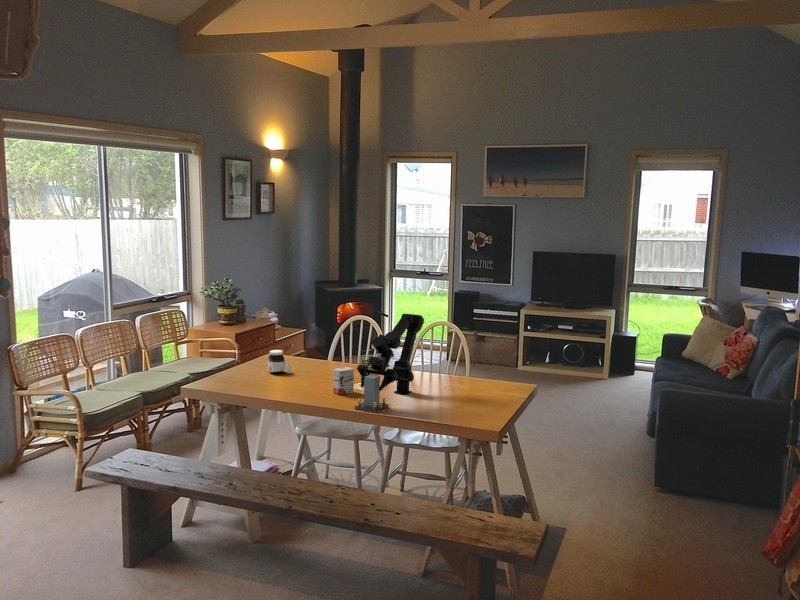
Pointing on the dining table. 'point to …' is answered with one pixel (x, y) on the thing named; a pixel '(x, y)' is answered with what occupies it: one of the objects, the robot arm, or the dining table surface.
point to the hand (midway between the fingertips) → (370, 388)
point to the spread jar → (277, 362)
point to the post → (371, 390)
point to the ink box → (343, 380)
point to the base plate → (371, 409)
